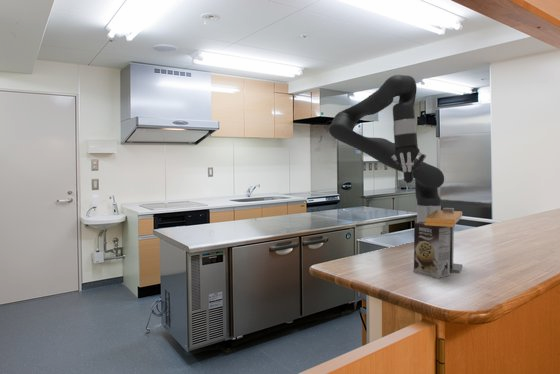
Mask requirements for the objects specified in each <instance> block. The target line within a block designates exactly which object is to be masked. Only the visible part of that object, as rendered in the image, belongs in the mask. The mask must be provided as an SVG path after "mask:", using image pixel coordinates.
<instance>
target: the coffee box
mask: <svg viewBox="0 0 560 374" xmlns="http://www.w3.org/2000/svg"><path fill="white" fill-rule="evenodd" d="M413 224H414V227H413V228H414V229H413V230H414V231H413V232H414V233H413V237H414V238H413V240H414V241H413V242H414V243H413V244H414V245H413V272H415V273H418V274H421V275H425V276H427V277H430V278H434V279H440V277H441V278H444V277H445V278H446V277H448V276H450V272H449V270H450V230H451V227H445V226H430V225H425V222H417V221H416V222H414V223H413Z"/></svg>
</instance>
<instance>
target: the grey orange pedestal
mask: <svg viewBox="0 0 560 374" xmlns="http://www.w3.org/2000/svg"><path fill="white" fill-rule="evenodd" d="M462 217H463V211H461V210H460V211H457V210H455V208H454V207H444V208H442V210H441V211H440V210H436V211H434V212H433V213H431V214H430V215H429V216H427V217H426V218H425V225H430V226H445V227H451V230H450V270H449V273H458V274H460V273H461V271H462V268H463V264H461V263H455V262H454V252H455V251H454V247H455V246H454V244H455V243H454V236H455V234H454V233H455V232H454V231H455V226H456V224H457V222H459V221H460V220H461V218H462Z"/></svg>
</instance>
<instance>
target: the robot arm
mask: <svg viewBox="0 0 560 374" xmlns="http://www.w3.org/2000/svg"><path fill="white" fill-rule="evenodd" d="M416 95H417V81H416V80H415V78H414V77H413V76H410V75H405V74H404V75H402V74H395V75H391V76H390V77H388V78H387V79H386V80H385V81H384V83H383V84H382V85H381V86H380V87H379V88H378V89H377V90H376V91H374V92H373V93H371V94H369V95H368V96H367V97H366V98H365V99H363V100H361V101H359V102H358V103H357V104H354V105H351V106H350V107H348V108H346V109H343V110H341V111H339V112H337V114H335V116H334V118H333V119H332V121H331V123H330V125H329V127H328V132H329V135H331V137H333V138H334V139H336V140H337V141H339V142H341V143H343V144H345V145H348V146H350V147H352V148H354V149H357V150H358V151H360V152H362V153H364V154H366V155H367V156H369V157H371V158H373V159H374V160H375V161H378V163H381V164H383V165H385V166H387V167H389V168H391V169H394V170H396V171H399V172H401V173H403V180H404V182H405V183H406V184H410V183H412V182H413V181H414V188H415V192H414V193H415V199H416V203H417V204H416V222H425V218H426V217H427V216H429V215H430V214H431V213H433V212H434V211H436V210H440V211H442V210H441V205H442V202H441V201H442V200H441V196H439V193H438V188H441V186H442V185H444V182H445V175H444V173H443V171H442V170H441V169H440V168H438V167H437V166H434V165H431V164H429V163H427V162H424V161H425V159H426V158H427V155H426V154H424V153H422V152H420V149H419V147H418V146H419V145H418V144H419V143H418V135H417V124H416V119H415V108H414V106H415V102H416V97H417V96H416ZM396 97H399V98H398V103H396V104H394V105H393V106H392V119H393V128H392V129H393V140H394V142H393V141H390V140H389V139H386V138H383V137H369V136H364V135H362V134H360V133H358V132H356V131H355V130H354V129H355V127H356V124H357V123H358V122H359V121H360V120H362V118H364V117H365V116H372V115H376V114H377V113H379V112H381V111H383V110H384V109H386V108H387V107H389V106H390V105H391V104H392V103H393V102H394V98H396Z"/></svg>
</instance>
